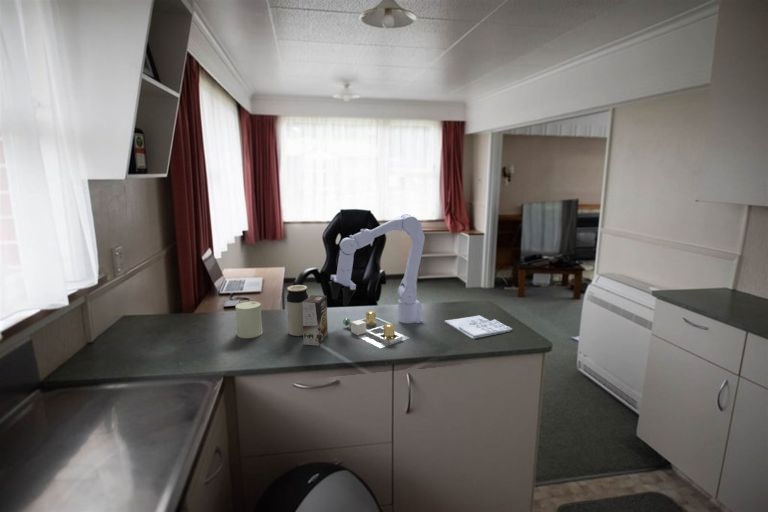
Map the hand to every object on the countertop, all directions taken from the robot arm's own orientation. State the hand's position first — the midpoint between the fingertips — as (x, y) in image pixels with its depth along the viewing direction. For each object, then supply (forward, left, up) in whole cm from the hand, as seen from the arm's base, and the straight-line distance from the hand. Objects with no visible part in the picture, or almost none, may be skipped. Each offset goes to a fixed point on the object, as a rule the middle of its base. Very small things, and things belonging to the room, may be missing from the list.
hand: (340, 302), depth 163 cm
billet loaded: (-5, +25, -9) cm, 27 cm away
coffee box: (+14, +6, -11) cm, 19 cm away
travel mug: (+15, -5, -11) cm, 20 cm away
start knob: (-1, +7, -9) cm, 11 cm away
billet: (-10, +8, -10) cm, 16 cm away
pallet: (-5, +22, -10) cm, 24 cm away
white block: (-1, +12, -10) cm, 16 cm away
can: (+30, -16, -11) cm, 36 cm away
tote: (-10, +8, -10) cm, 16 cm away
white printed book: (-43, +35, -11) cm, 56 cm away
